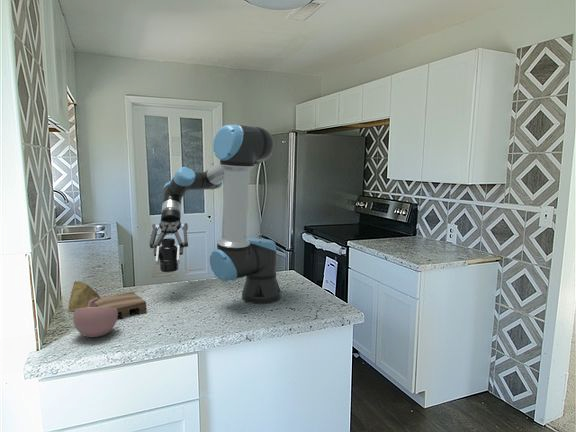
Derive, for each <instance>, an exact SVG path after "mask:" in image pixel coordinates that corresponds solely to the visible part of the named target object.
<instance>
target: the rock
mask: <svg viewBox="0 0 576 432" xmlns="http://www.w3.org/2000/svg"><path fill="white" fill-rule="evenodd" d="M72 285H73V286H72V287H71V293H70V297H69V301H68V311H67V312H68V313H72V312H75V310H76V309H78V308H85V307H88V303H89V301H90V300H93V299H94V298H96V297H98V299H100V298H101V297H100V295H99V293H98V292H97V291H95V290H94V289H93V288H92V287H91V286H90V285H89V284H87V283H85V282H83V281H80V280H78V281H74V282H73V284H72ZM92 307H93V304H92Z"/></svg>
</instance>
